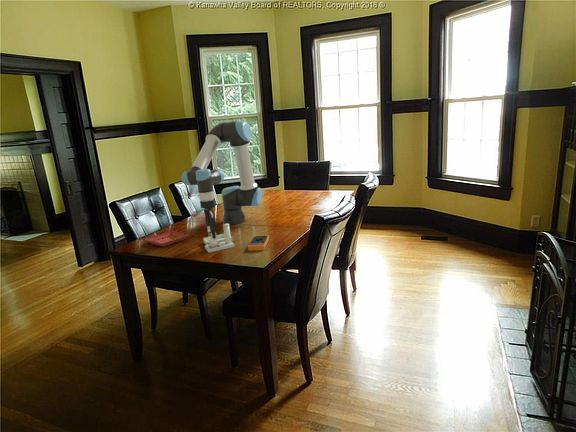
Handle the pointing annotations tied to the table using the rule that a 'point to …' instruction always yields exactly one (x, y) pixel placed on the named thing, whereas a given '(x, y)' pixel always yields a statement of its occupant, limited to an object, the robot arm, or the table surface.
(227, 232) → the fuse
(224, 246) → the fuse panel
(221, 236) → the parts tray
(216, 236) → the fuse
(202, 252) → the table surface
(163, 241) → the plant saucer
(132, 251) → the table surface
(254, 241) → the multimeter
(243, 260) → the table surface
